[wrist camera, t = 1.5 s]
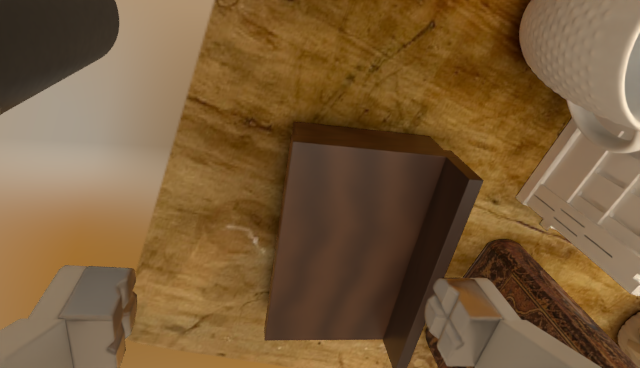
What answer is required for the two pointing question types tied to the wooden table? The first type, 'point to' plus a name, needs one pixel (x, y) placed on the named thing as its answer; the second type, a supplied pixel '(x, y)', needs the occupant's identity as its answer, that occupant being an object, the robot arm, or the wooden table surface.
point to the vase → (631, 338)
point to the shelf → (364, 235)
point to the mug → (589, 62)
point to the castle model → (592, 200)
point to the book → (540, 305)
